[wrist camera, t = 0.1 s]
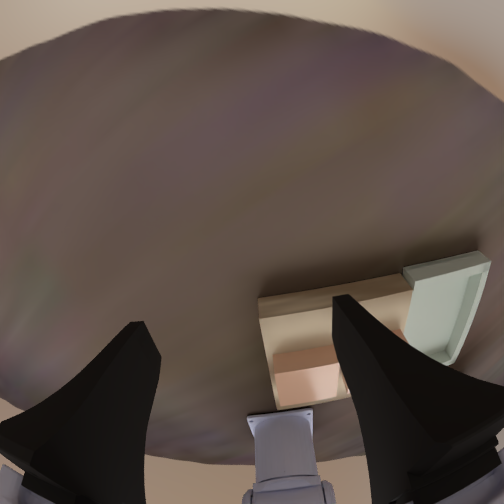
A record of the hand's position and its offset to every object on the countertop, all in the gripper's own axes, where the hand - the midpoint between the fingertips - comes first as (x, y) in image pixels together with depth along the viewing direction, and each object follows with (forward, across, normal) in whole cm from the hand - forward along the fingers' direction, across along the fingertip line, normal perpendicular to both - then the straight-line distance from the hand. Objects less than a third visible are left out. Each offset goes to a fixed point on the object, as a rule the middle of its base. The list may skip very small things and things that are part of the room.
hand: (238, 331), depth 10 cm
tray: (+10, -17, +12) cm, 23 cm away
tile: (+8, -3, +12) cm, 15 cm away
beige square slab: (+10, -6, +12) cm, 17 cm away
